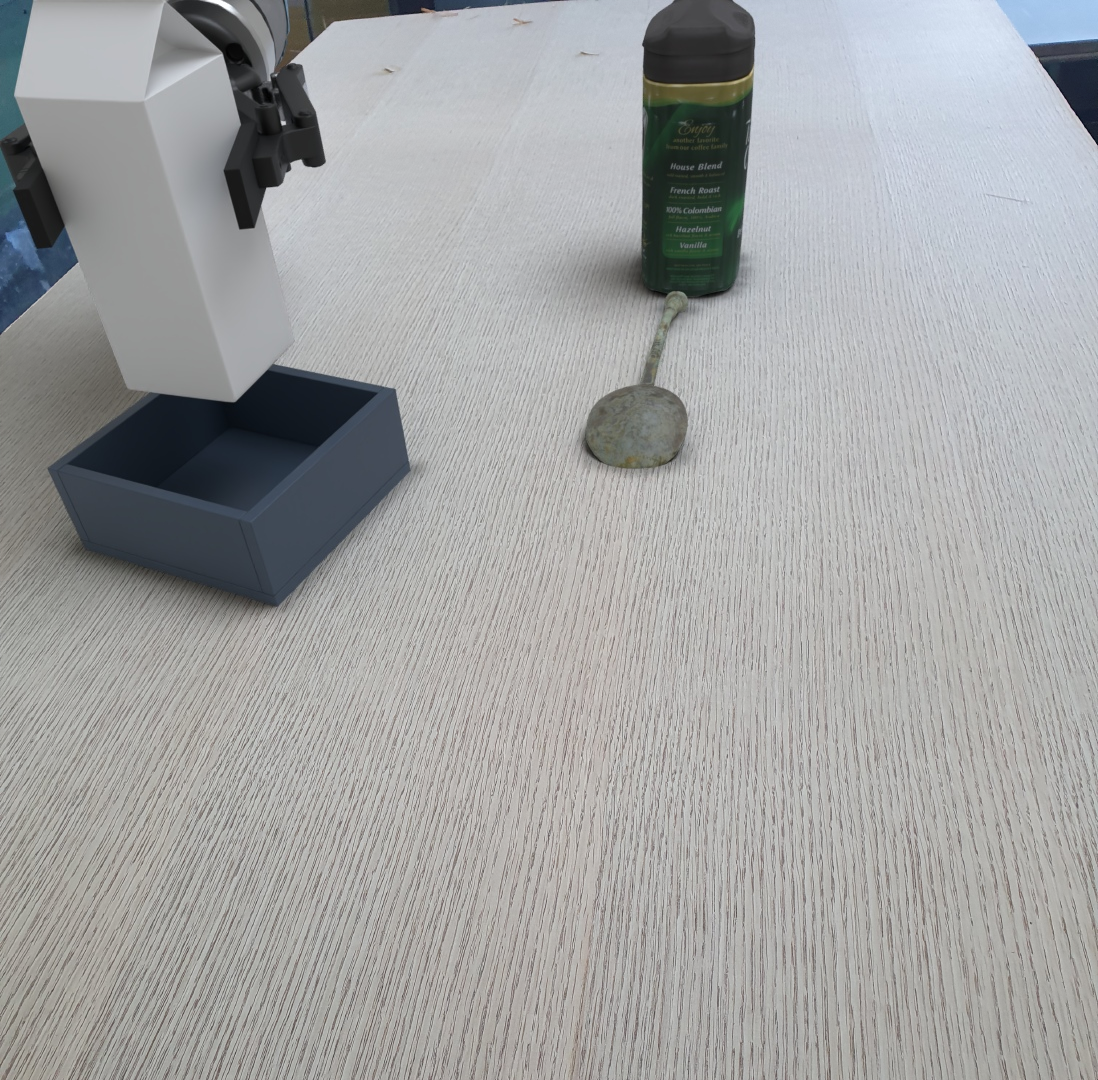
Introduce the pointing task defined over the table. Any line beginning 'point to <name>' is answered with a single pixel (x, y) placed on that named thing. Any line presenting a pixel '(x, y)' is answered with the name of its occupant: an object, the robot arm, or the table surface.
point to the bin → (237, 480)
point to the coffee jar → (695, 144)
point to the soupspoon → (641, 412)
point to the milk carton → (152, 193)
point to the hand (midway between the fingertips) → (136, 209)
